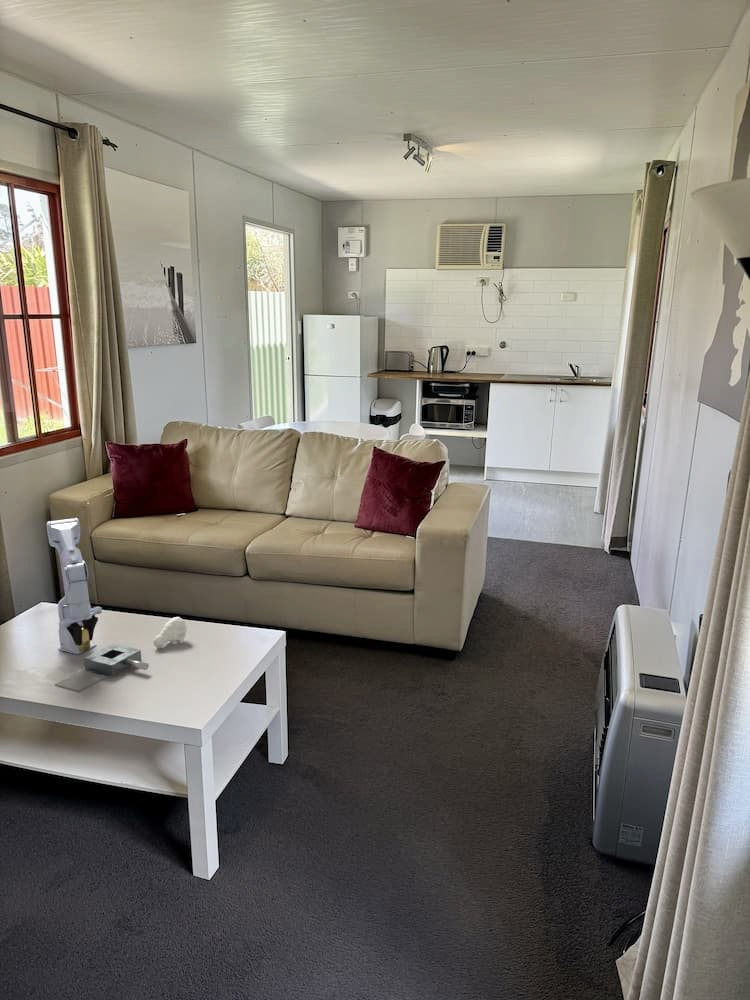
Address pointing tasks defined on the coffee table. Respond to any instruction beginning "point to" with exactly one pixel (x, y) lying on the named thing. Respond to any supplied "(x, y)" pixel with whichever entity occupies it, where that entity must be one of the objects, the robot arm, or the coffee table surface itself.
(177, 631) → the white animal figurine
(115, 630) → the coffee table surface
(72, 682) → the rubber mat
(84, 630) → the gold metal cylinder
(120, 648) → the chuck block
